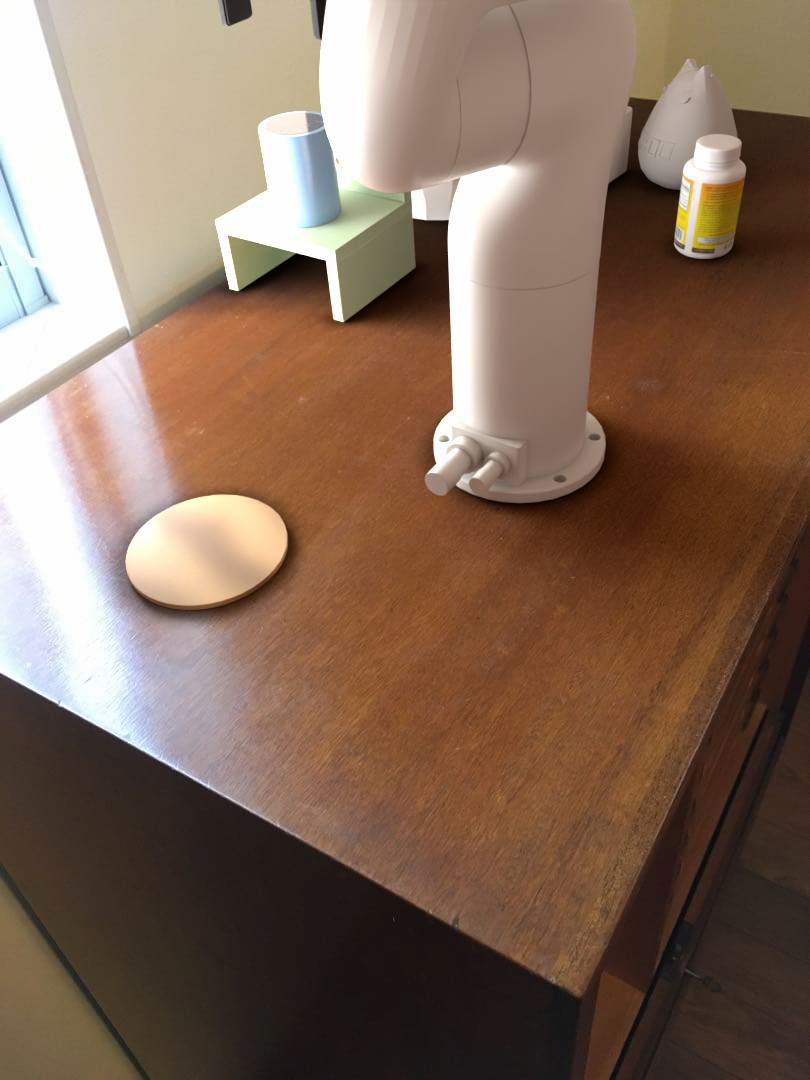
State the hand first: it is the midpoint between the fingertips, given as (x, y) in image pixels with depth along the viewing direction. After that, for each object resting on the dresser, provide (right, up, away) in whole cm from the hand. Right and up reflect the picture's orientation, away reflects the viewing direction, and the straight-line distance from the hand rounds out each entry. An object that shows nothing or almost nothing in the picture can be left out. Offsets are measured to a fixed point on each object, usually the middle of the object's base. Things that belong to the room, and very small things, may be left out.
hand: (282, 28), depth 76 cm
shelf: (+2, -16, +16) cm, 22 cm away
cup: (+1, -11, +10) cm, 15 cm away
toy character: (+41, -2, +28) cm, 49 cm away
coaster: (-3, -42, -12) cm, 44 cm away
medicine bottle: (+30, -1, +30) cm, 42 cm away
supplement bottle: (+39, -13, +15) cm, 44 cm away
